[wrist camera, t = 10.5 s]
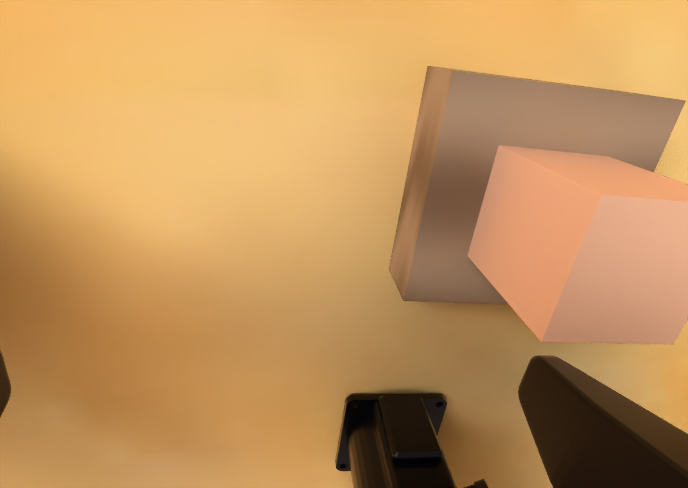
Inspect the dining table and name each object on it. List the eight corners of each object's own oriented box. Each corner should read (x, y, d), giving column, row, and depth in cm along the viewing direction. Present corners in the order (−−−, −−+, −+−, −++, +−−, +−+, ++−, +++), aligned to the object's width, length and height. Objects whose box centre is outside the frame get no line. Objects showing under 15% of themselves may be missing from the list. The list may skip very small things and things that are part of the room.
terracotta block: (566, 261, 19) (673, 344, 14) (467, 255, 19) (541, 342, 13) (608, 156, 17) (753, 207, 12) (498, 145, 16) (601, 194, 11)
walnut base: (557, 276, 24) (592, 306, 21) (389, 269, 22) (403, 300, 19) (630, 92, 19) (685, 100, 17) (427, 65, 18) (453, 70, 15)
